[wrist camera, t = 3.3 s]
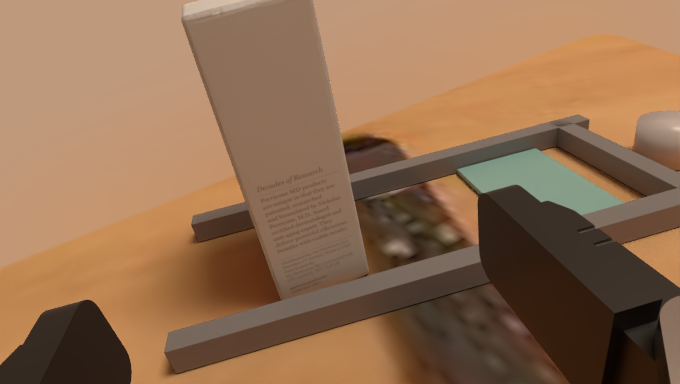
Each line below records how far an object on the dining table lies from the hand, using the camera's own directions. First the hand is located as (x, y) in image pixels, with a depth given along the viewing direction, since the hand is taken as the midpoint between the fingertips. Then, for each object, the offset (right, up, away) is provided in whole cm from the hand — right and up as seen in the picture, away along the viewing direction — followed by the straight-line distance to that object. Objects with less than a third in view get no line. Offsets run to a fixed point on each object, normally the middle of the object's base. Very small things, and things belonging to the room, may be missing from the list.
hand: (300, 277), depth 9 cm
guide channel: (+7, +1, +13) cm, 14 cm away
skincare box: (-1, -2, +12) cm, 12 cm away
